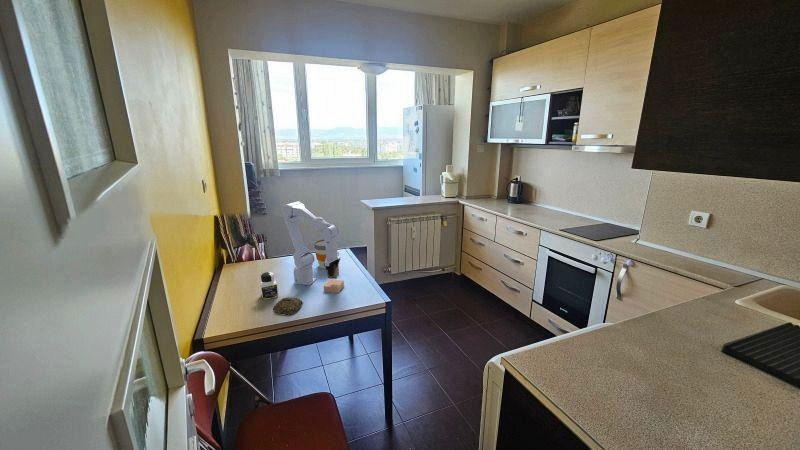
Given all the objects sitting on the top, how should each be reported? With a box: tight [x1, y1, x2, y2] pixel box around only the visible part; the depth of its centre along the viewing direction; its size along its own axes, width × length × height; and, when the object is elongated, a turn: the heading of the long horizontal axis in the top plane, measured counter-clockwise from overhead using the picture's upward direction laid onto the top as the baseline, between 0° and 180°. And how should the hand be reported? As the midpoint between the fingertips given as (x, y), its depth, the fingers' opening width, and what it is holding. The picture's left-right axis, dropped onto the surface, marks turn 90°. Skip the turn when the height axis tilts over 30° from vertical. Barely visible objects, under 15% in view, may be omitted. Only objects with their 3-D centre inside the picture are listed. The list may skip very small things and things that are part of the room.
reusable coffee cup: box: [314, 239, 327, 270], centre depth 201 cm, size 12×13×15 cm
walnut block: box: [326, 264, 340, 280], centre depth 171 cm, size 4×4×6 cm
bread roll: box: [272, 296, 304, 316], centre depth 154 cm, size 13×12×5 cm
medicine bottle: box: [259, 271, 279, 301], centre depth 165 cm, size 7×7×12 cm
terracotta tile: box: [323, 278, 345, 294], centre depth 173 cm, size 8×8×3 cm
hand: (333, 273), depth 171 cm, fingers closed on walnut block, 5 cm apart
